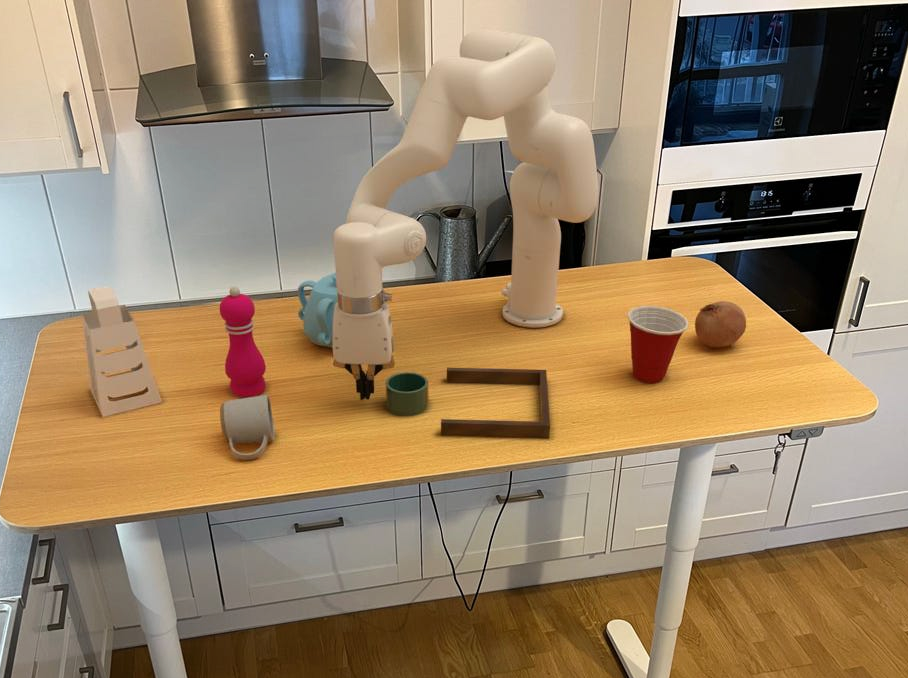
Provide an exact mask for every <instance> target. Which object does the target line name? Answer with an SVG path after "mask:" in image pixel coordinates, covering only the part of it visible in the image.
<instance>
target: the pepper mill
mask: <svg viewBox="0 0 908 678" xmlns="http://www.w3.org/2000/svg"><path fill="white" fill-rule="evenodd" d="M255 312H256V307H255V303H254V301H253V299H252V298H251V297H250V296H248V295H246V294H244V293H241V290H240V288H239V287H238V286H232V287H230V288H229V294H227V295H226V296H224V298H222V300H221V301H220V303H219V315H220V317H221V319H222V320H224V326H225V327H224V329H225V332H226V333H228V338H229V348H228V351H227V355H226V357H225V362H224V373H225V375H226V377H227V378H228V379H229V380H230V381H229V386H230V387H229V388H230V392H231V393H232V395H234V396H237V397H239V398H249V397H256V396H260V394H262V393H263V392H264V391H265V390H266V379H265V377H264V375H265V373H266V369H267V366H266V362H265V358H264V356H263V355H262V352H261V351H260V349H259V348H258V346H257V345H256V342H255V339H254V336H253V331H254V329H255V324H254V319H253V317H254V316H255Z"/></svg>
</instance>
